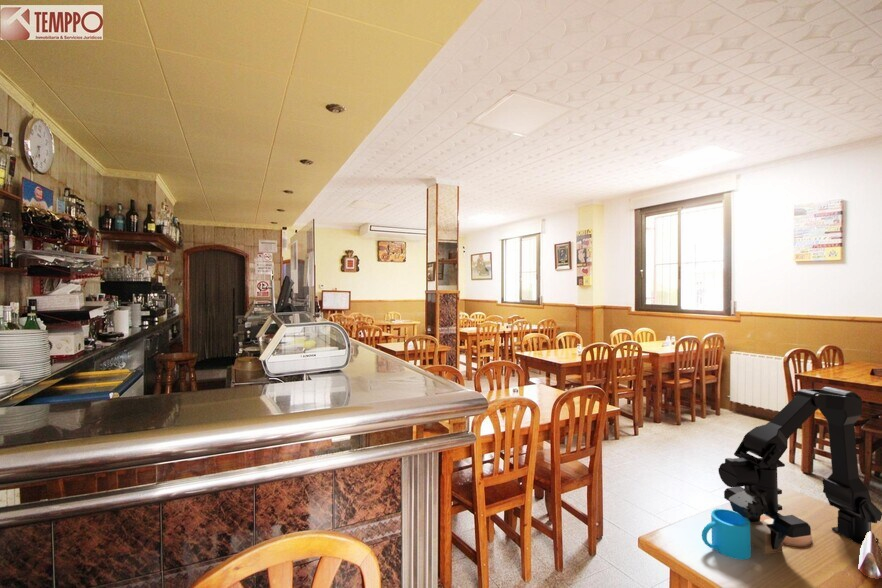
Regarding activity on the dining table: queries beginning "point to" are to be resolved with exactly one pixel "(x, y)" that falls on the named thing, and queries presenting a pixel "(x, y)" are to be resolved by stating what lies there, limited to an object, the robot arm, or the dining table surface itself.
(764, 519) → the terracotta dish
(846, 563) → the dining table surface
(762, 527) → the walnut block
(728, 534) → the mug
